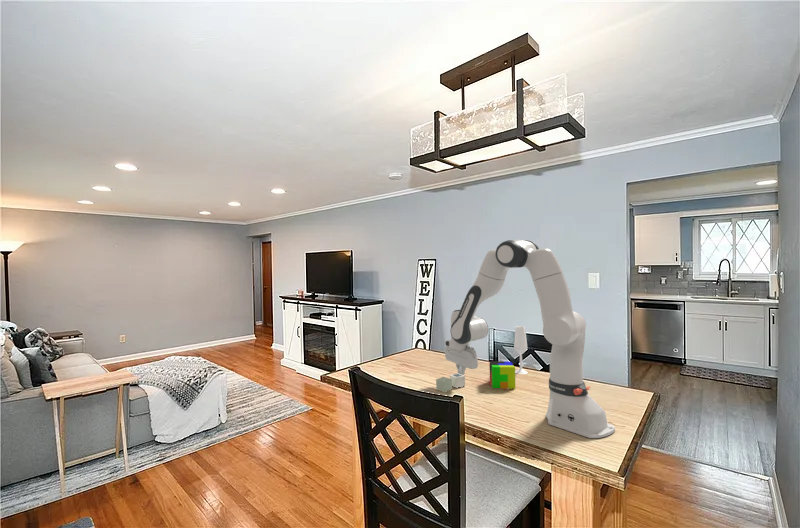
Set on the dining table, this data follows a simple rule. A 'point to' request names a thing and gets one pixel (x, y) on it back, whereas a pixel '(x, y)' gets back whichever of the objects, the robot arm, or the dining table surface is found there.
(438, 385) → the sage block
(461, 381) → the letter block
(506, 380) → the puzzle toy
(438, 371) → the dining table surface
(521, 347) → the champagne flute
